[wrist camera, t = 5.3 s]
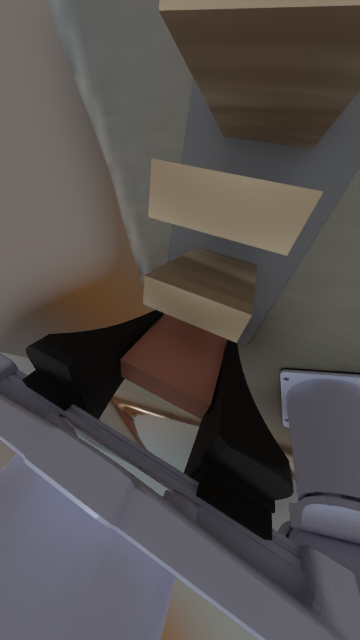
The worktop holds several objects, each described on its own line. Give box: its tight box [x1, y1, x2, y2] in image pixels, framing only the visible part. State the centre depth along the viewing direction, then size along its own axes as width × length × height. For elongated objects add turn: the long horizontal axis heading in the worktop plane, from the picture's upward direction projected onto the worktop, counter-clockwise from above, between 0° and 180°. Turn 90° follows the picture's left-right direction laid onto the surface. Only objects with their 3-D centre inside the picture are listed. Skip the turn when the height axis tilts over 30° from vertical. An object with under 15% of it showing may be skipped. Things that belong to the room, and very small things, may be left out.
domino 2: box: [148, 159, 323, 256], centre depth 8 cm, size 2×5×8 cm, turn 79°
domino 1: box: [159, 0, 360, 149], centre depth 6 cm, size 2×5×8 cm, turn 79°
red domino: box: [120, 313, 228, 419], centre depth 12 cm, size 2×5×8 cm, turn 78°
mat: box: [168, 78, 360, 347], centre depth 11 cm, size 22×10×1 cm, turn 169°
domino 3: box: [143, 247, 257, 343], centre depth 11 cm, size 2×5×8 cm, turn 79°
